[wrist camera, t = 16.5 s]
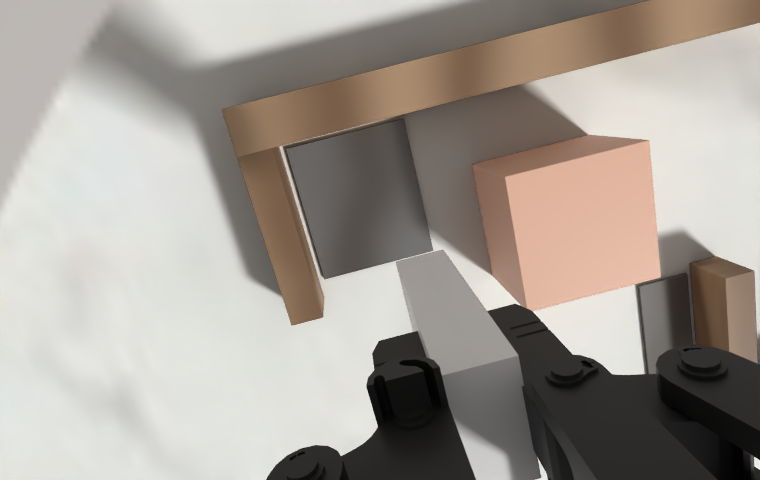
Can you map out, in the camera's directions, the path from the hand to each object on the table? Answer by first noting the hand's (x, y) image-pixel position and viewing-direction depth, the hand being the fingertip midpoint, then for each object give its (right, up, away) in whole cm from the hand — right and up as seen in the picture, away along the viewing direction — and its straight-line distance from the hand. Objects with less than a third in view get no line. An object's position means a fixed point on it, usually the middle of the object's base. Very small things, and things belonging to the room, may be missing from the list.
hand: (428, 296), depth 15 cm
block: (+7, +3, +10) cm, 12 cm away
